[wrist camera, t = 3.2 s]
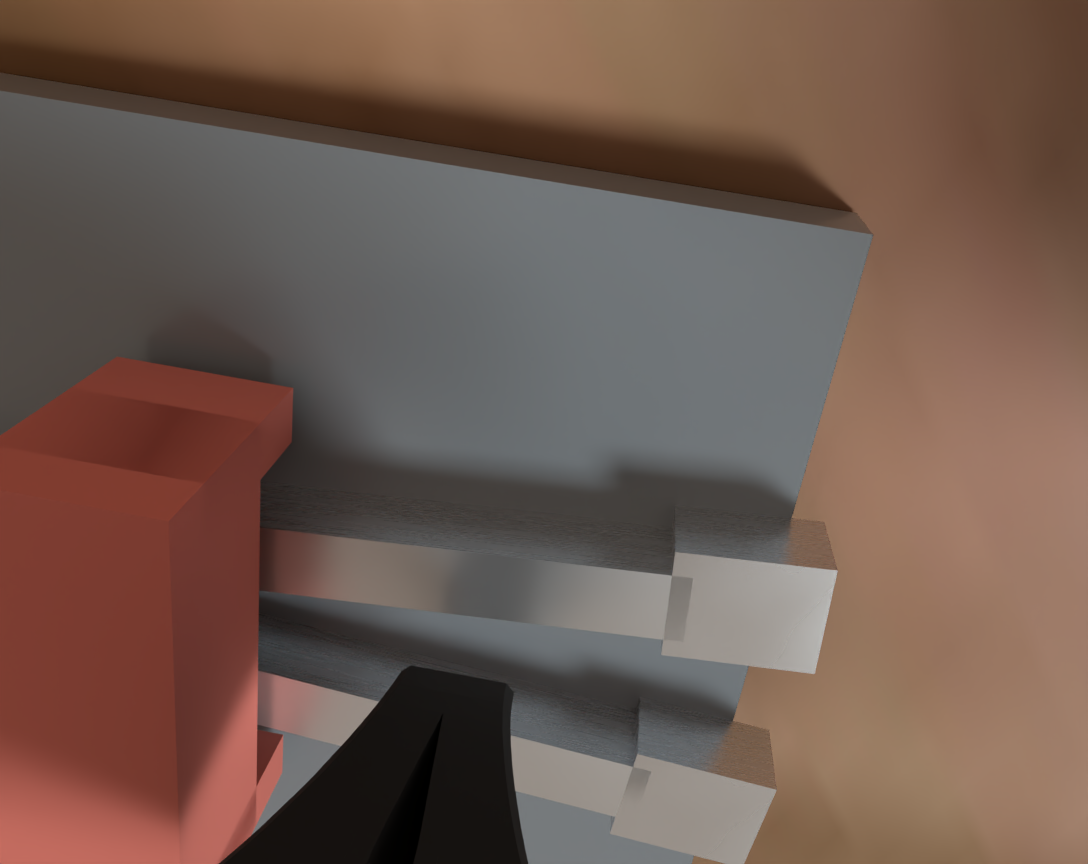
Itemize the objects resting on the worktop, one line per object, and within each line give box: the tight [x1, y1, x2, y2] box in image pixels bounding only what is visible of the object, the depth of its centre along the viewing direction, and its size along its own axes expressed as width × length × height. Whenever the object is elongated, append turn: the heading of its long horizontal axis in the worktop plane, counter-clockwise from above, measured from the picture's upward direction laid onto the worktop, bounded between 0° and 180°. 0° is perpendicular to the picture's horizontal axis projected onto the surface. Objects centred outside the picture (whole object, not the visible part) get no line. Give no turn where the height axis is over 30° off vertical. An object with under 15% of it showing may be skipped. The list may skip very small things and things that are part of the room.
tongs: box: [257, 482, 838, 864], centre depth 14 cm, size 21×5×1 cm, turn 82°
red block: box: [0, 357, 293, 864], centre depth 13 cm, size 2×7×4 cm, turn 172°
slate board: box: [0, 73, 873, 864], centre depth 15 cm, size 20×13×1 cm, turn 82°
